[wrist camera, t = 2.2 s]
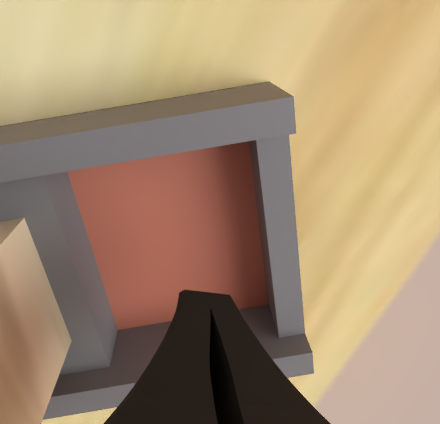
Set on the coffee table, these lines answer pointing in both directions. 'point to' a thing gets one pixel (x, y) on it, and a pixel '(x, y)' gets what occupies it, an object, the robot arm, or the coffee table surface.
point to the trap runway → (159, 227)
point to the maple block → (27, 329)
